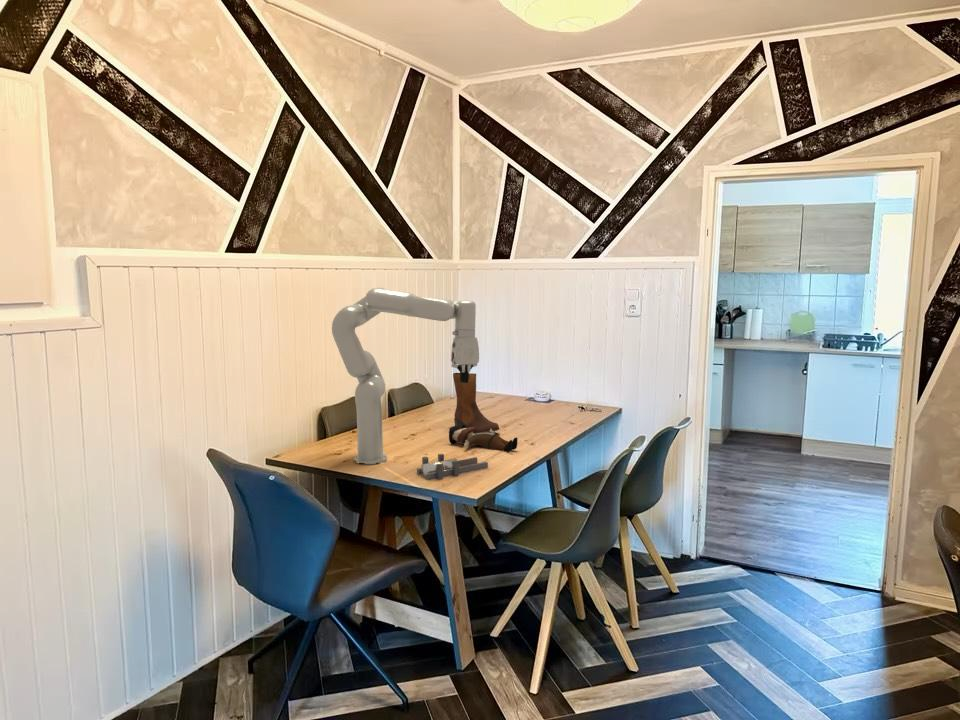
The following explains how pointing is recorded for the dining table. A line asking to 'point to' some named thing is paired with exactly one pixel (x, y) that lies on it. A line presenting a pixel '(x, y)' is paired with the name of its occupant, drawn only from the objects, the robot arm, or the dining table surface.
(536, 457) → the dining table surface
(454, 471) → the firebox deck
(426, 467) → the steel tube
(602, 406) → the dining table surface
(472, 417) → the boot
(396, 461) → the dining table surface
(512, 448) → the toy
